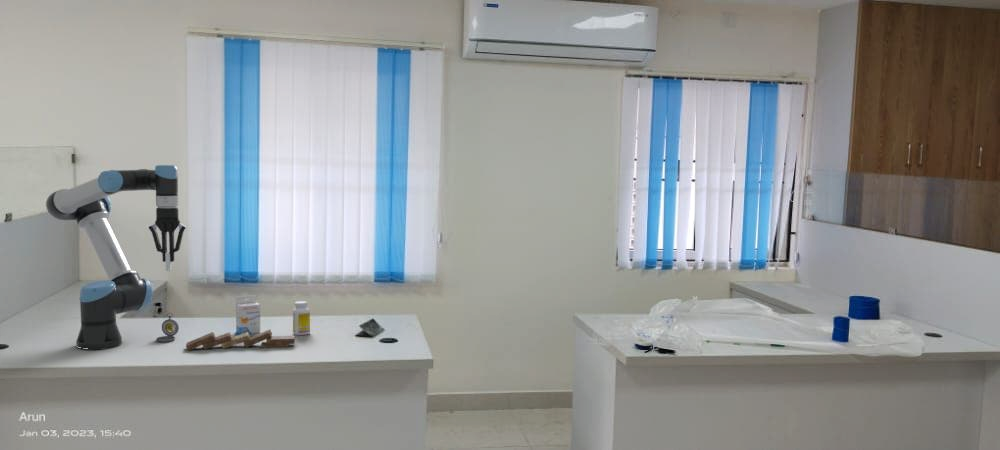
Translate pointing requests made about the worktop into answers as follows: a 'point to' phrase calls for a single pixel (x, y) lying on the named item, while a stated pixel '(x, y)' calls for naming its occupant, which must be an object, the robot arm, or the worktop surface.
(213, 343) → the domino
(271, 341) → the domino
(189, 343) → the domino
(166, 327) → the pocket watch
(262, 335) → the domino
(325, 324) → the worktop surface
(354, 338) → the worktop surface
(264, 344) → the domino
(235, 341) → the tile
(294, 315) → the supplement bottle
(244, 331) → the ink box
